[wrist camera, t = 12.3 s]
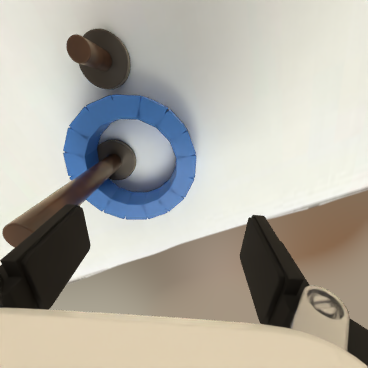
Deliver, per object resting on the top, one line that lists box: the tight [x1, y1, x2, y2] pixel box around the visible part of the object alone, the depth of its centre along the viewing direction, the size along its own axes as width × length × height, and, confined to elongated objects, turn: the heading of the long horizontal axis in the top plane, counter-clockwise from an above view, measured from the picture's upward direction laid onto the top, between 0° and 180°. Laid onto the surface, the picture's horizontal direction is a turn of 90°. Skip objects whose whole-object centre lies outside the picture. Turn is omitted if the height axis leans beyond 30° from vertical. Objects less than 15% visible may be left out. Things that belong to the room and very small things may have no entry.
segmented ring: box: [63, 95, 196, 219], centre depth 20 cm, size 13×13×3 cm
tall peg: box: [3, 140, 136, 247], centre depth 16 cm, size 5×5×14 cm
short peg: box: [67, 29, 130, 89], centre depth 16 cm, size 5×5×5 cm
